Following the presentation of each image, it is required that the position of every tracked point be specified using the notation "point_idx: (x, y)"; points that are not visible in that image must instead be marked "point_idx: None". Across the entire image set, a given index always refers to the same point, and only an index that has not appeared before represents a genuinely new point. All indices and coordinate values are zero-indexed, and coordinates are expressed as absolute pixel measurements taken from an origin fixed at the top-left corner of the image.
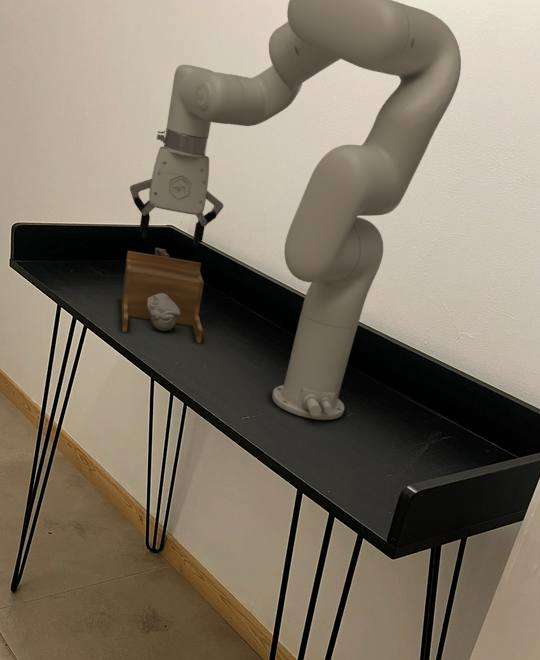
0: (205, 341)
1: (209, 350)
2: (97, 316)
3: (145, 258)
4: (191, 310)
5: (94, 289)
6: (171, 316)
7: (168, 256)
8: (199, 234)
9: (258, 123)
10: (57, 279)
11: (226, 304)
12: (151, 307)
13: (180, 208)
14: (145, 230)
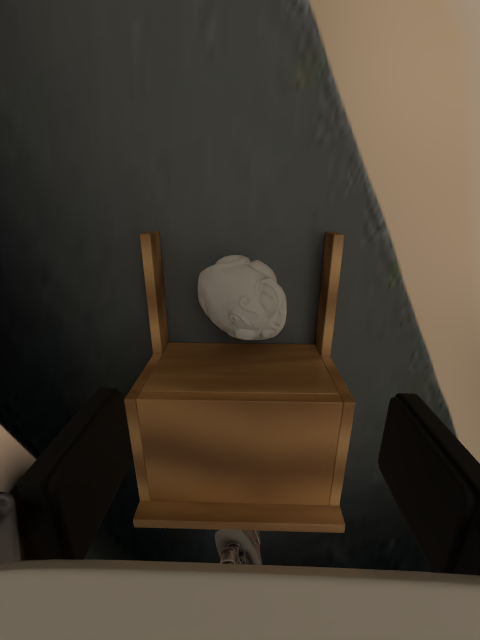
0: (138, 250)
1: (127, 185)
2: (380, 314)
3: (291, 513)
4: (168, 357)
5: (361, 471)
6: (222, 259)
7: (223, 559)
8: (62, 434)
9: None
10: None
11: None
12: (276, 282)
13: (204, 613)
14: (429, 417)
